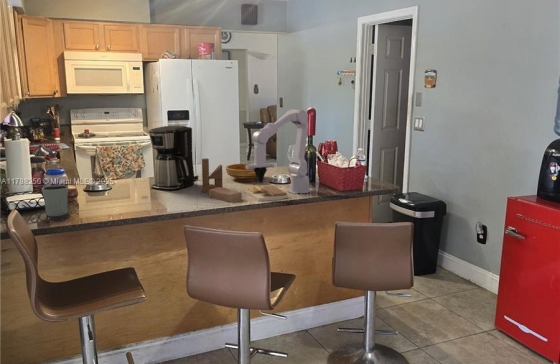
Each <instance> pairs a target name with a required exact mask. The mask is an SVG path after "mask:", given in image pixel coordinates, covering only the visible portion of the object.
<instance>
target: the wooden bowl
mask: <svg viewBox="0 0 560 364" xmlns="http://www.w3.org/2000/svg"><path fill="white" fill-rule="evenodd" d="M250 164H251V163H234V164H233V163H232V164H228V165H226V166H225V168H224V169H225V171H226V173H227V175H228V176H230V177H232V178H233V179H235V180H236V181H238V182H251V181H255V179H257V176H256V173H255V171H254V169H246V165H250Z"/></svg>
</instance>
